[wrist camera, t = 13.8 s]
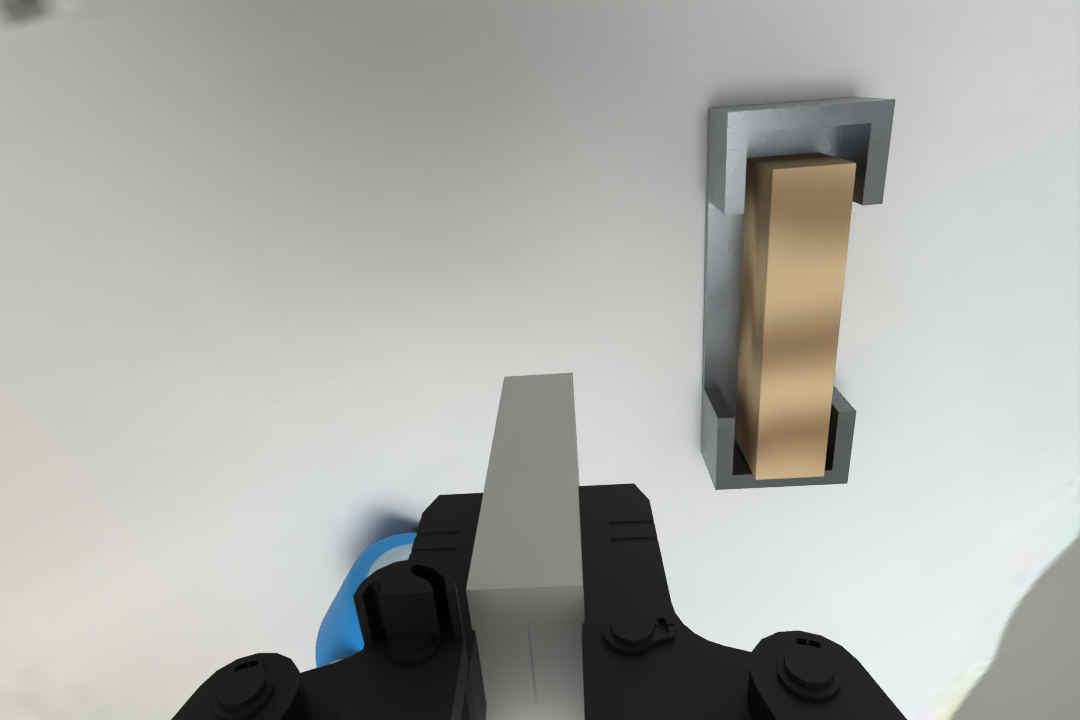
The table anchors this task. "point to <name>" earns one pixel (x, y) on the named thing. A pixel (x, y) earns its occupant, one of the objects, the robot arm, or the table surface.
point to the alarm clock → (341, 619)
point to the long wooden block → (791, 309)
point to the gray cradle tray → (732, 138)
